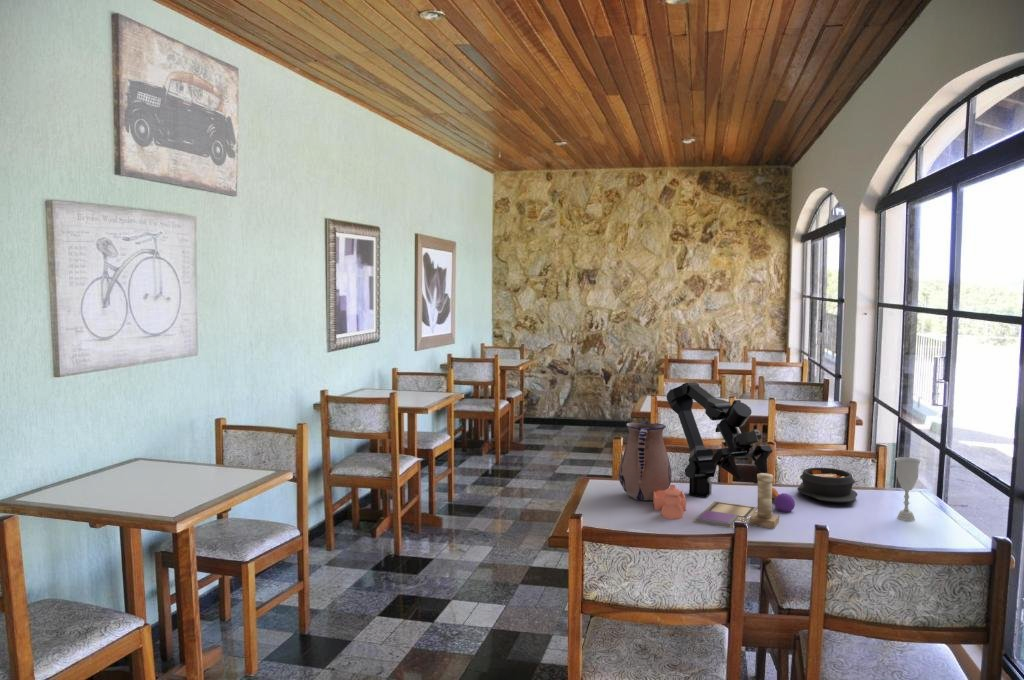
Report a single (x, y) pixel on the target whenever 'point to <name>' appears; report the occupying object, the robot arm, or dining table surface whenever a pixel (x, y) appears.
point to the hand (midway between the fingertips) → (753, 478)
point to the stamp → (764, 503)
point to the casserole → (828, 485)
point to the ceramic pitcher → (645, 461)
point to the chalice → (907, 482)
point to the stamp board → (731, 511)
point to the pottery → (670, 502)
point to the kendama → (783, 501)
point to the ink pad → (717, 518)
